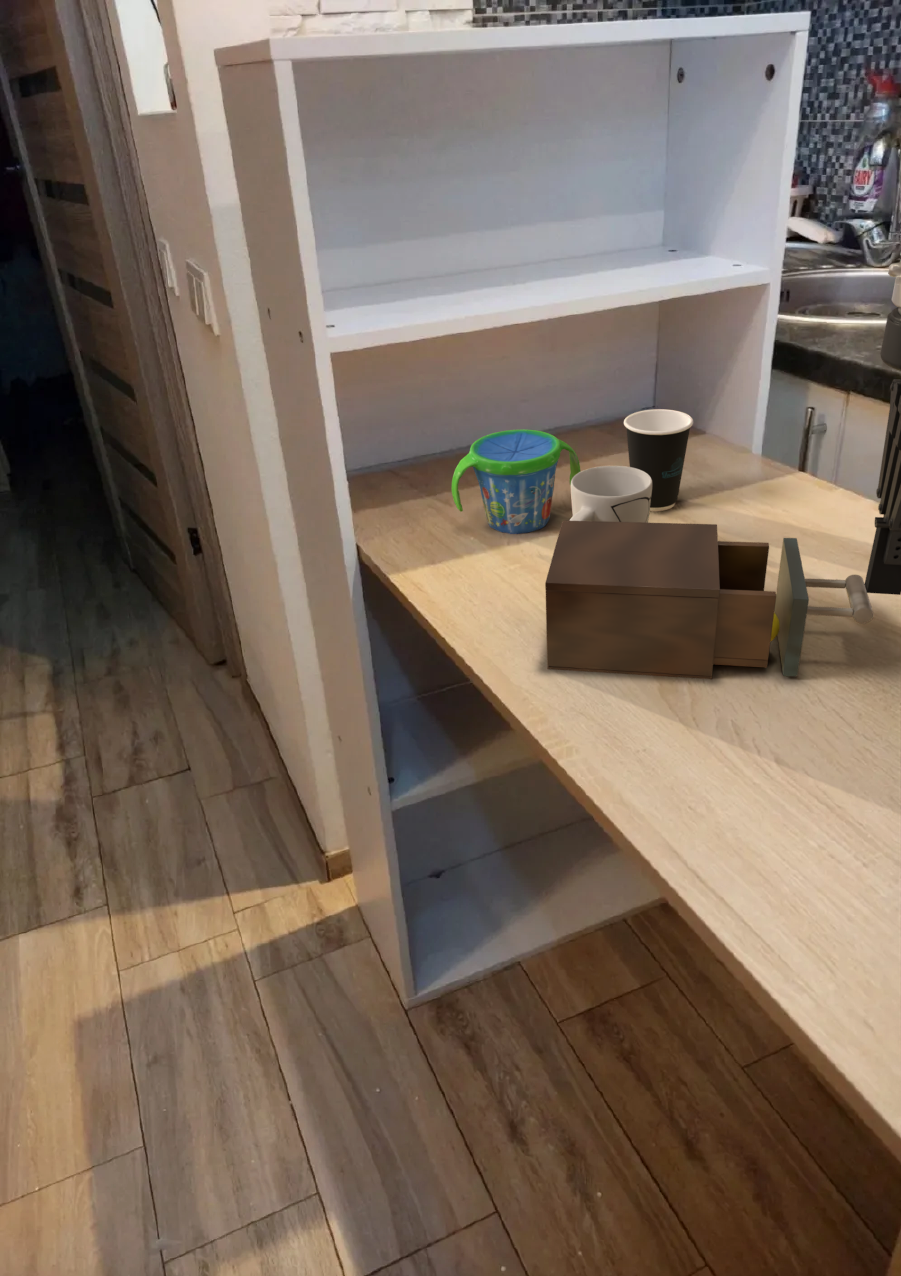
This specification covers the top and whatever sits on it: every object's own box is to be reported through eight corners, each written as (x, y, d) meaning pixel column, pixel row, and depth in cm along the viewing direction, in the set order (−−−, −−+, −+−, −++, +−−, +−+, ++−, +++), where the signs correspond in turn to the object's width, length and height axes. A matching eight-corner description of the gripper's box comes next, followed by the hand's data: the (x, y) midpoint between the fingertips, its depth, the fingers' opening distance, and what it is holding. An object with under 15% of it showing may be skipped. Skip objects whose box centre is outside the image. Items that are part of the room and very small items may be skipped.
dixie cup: (626, 492, 118) (628, 408, 112) (690, 495, 116) (695, 409, 110) (617, 518, 112) (619, 431, 106) (684, 522, 110) (690, 433, 104)
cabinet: (709, 611, 92) (717, 524, 87) (711, 684, 82) (719, 589, 77) (563, 604, 96) (562, 520, 91) (547, 673, 85) (545, 582, 80)
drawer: (850, 613, 89) (864, 539, 84) (869, 681, 79) (884, 602, 75) (645, 603, 93) (648, 533, 89) (639, 667, 84) (642, 592, 79)
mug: (604, 603, 95) (605, 514, 90) (539, 580, 100) (536, 495, 95) (663, 560, 102) (668, 475, 97) (600, 541, 107) (600, 459, 102)
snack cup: (463, 552, 107) (456, 470, 102) (448, 515, 116) (441, 438, 111) (593, 533, 109) (593, 451, 104) (568, 498, 118) (567, 421, 112)
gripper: (875, 290, 74) (828, 552, 87) (905, 334, 63) (845, 625, 76) (978, 289, 72) (914, 557, 85) (1026, 334, 62) (945, 632, 75)
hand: (882, 589), depth 81 cm, fingers closed
